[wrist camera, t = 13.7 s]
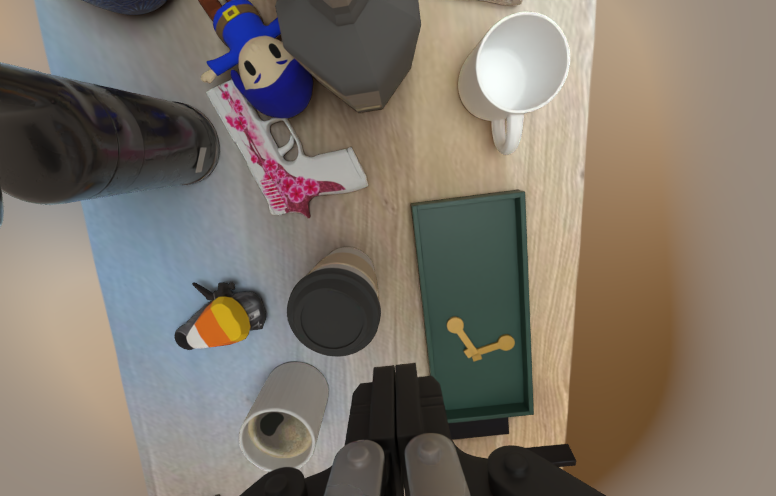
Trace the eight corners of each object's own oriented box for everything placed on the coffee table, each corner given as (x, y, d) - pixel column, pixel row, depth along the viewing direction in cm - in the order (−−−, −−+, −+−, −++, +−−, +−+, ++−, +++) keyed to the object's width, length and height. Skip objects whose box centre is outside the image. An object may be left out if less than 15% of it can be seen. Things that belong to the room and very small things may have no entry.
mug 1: (299, 349, 52) (278, 395, 42) (344, 396, 54) (334, 450, 44) (242, 393, 54) (209, 446, 44) (288, 437, 55) (266, 498, 46)
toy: (257, -66, 37) (339, 45, 34) (285, -5, 44) (354, 91, 42) (148, 9, 37) (222, 125, 34) (194, 57, 44) (258, 157, 42)
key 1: (457, 313, 50) (457, 314, 50) (482, 348, 51) (482, 350, 50) (443, 322, 50) (443, 323, 50) (468, 357, 51) (468, 358, 51)
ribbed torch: (175, 357, 49) (188, 345, 52) (268, 336, 48) (276, 324, 51) (146, 296, 47) (162, 287, 50) (243, 272, 46) (253, 264, 49)
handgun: (296, 39, 40) (200, 92, 42) (370, 187, 44) (280, 233, 45) (301, 47, 43) (211, 96, 44) (371, 186, 47) (286, 229, 48)
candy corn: (247, 339, 44) (195, 368, 46) (258, 329, 47) (209, 357, 49) (219, 295, 44) (167, 326, 45) (233, 288, 47) (183, 318, 48)
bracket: (417, 438, 55) (433, 618, 34) (414, 417, 54) (429, 588, 33) (507, 429, 55) (580, 605, 33) (505, 408, 54) (580, 575, 33)
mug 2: (527, 152, 45) (566, 152, 35) (457, 156, 45) (476, 158, 35) (530, 41, 42) (573, 7, 32) (455, 46, 43) (475, 14, 33)
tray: (434, 413, 54) (436, 424, 52) (410, 203, 47) (411, 205, 45) (527, 403, 54) (533, 414, 51) (518, 189, 46) (525, 191, 44)
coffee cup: (360, 317, 51) (347, 384, 36) (300, 282, 50) (263, 337, 35) (396, 262, 49) (399, 309, 34) (335, 224, 48) (311, 257, 33)
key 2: (512, 333, 50) (510, 331, 51) (468, 348, 51) (467, 346, 51) (516, 347, 51) (515, 345, 51) (473, 361, 51) (473, 359, 52)
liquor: (354, 0, 41) (265, -358, 12) (420, 54, 43) (484, -153, 14) (307, 73, 43) (135, -86, 14) (373, 123, 44) (338, 72, 15)
